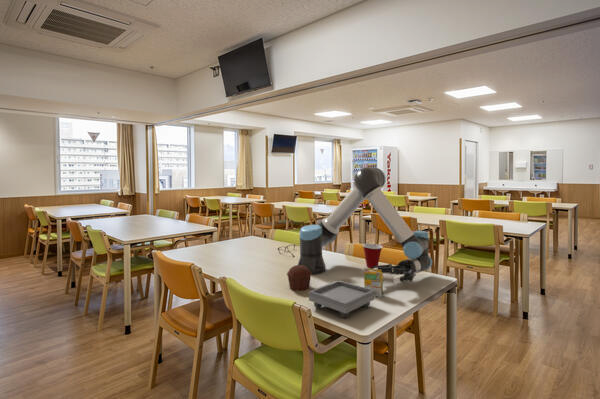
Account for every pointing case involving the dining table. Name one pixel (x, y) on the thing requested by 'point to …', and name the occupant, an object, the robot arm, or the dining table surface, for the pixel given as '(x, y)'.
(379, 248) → the plastic cup
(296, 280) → the muffin
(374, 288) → the crayon box
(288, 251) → the eyeglasses
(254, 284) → the dining table surface
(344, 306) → the grey footed tray
